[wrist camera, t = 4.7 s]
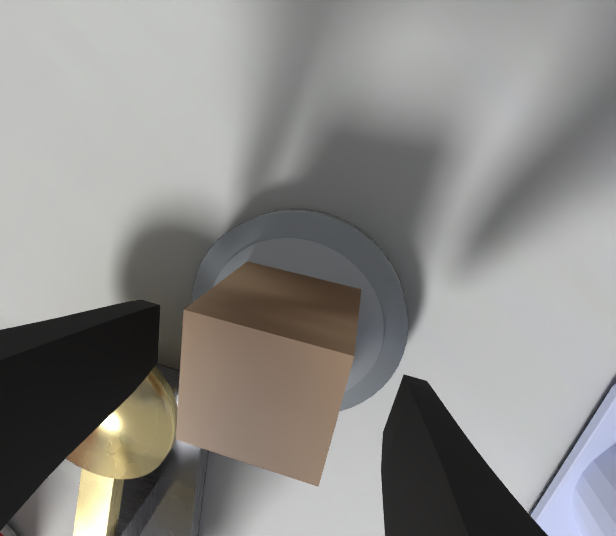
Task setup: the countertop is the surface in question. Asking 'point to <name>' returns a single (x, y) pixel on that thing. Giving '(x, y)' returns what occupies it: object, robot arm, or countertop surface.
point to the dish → (331, 267)
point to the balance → (140, 468)
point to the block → (267, 368)
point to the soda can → (7, 531)
